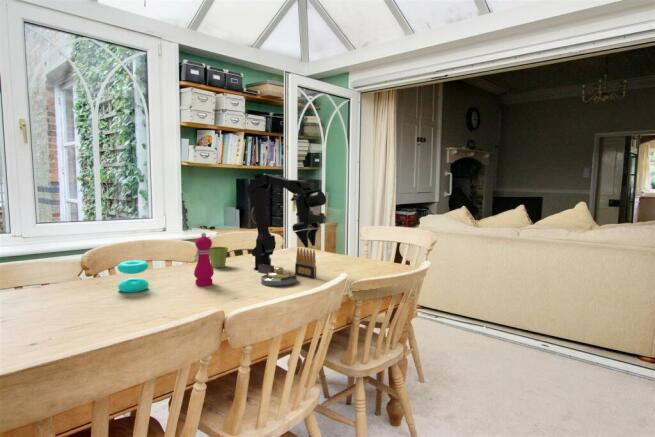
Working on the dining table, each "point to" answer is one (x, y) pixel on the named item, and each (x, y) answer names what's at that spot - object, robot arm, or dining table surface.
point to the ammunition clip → (305, 264)
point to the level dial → (271, 273)
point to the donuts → (133, 283)
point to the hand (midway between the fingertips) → (310, 246)
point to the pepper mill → (203, 262)
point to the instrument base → (278, 281)
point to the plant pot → (218, 256)
